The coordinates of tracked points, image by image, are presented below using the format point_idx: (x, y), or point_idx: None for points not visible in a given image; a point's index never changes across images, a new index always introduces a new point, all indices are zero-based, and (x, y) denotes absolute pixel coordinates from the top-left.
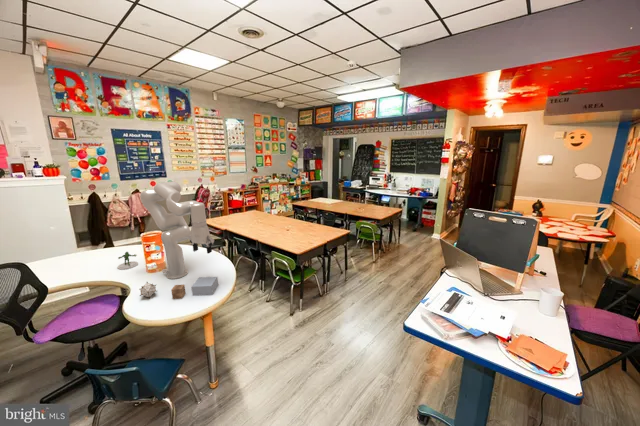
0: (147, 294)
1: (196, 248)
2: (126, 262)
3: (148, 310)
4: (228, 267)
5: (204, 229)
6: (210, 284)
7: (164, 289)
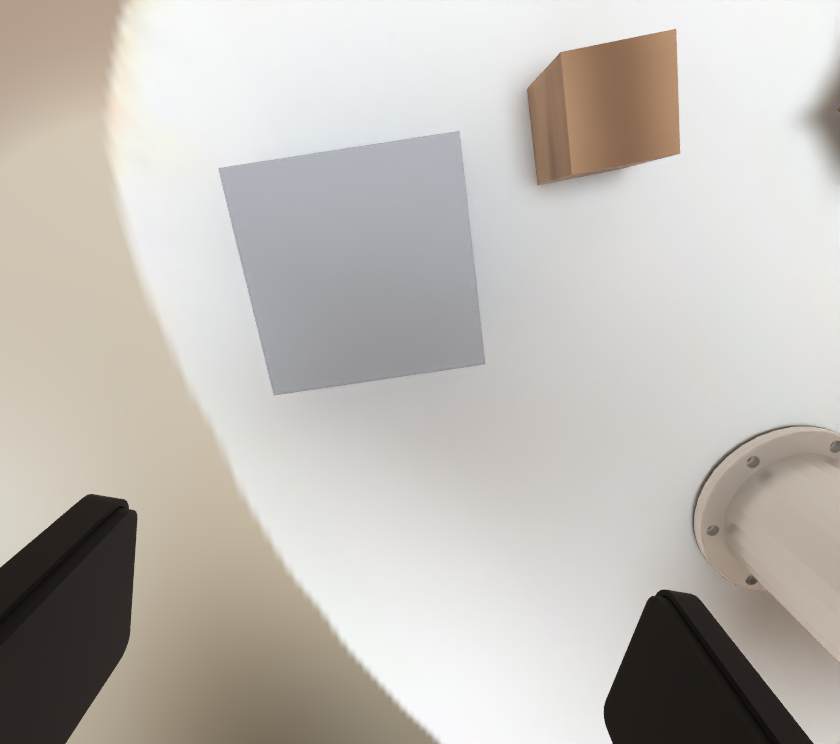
0: None
1: (654, 730)
2: None
3: None
4: (369, 661)
5: None
6: (249, 204)
7: (785, 245)
